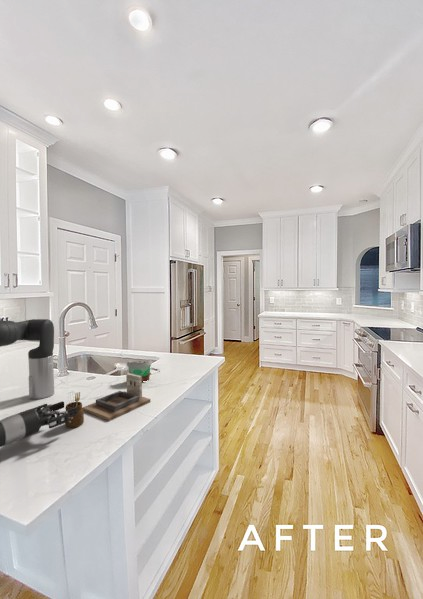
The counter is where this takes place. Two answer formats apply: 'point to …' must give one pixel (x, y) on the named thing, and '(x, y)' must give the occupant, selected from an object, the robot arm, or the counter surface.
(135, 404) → the charging dock
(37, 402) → the counter surface
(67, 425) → the utensil holder
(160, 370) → the phone case
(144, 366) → the food container
